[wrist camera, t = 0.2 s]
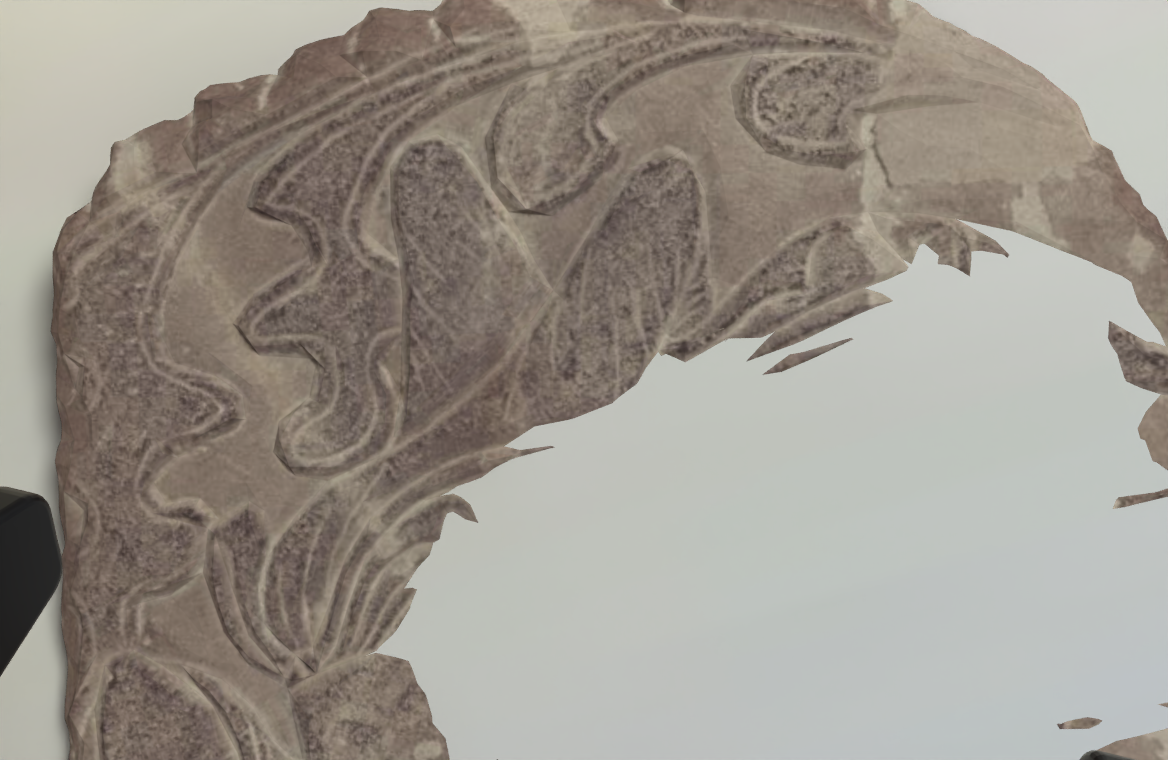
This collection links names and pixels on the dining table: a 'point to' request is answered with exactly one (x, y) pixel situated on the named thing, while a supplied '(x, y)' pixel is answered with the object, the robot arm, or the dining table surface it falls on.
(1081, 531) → the dining table surface
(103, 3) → the dining table surface
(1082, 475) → the dining table surface
